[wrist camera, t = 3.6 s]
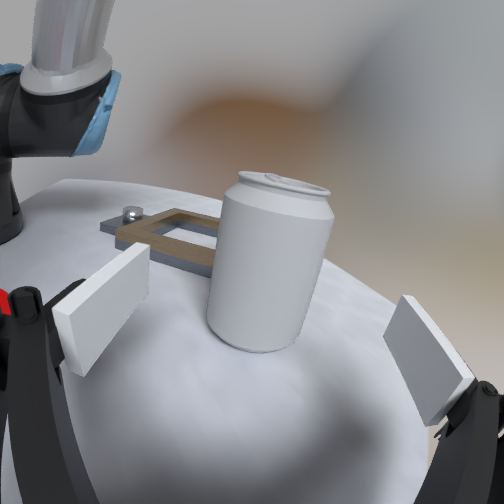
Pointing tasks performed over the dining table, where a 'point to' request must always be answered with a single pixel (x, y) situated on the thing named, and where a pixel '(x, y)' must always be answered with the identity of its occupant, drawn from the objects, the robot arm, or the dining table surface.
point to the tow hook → (4, 302)
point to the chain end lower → (136, 214)
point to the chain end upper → (167, 245)
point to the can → (267, 260)
